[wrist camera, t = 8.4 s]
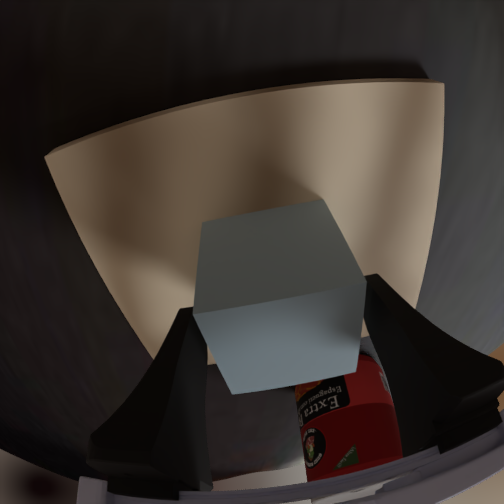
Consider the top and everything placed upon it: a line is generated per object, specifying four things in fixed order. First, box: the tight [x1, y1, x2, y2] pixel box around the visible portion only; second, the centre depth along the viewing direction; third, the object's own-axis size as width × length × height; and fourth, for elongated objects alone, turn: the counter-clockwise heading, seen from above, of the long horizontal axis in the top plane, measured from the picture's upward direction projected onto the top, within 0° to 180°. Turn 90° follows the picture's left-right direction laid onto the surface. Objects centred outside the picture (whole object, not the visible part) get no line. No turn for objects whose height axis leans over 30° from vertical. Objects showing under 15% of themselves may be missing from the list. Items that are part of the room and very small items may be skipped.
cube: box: [193, 199, 367, 394], centre depth 13 cm, size 6×6×6 cm
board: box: [45, 78, 444, 365], centre depth 16 cm, size 18×16×1 cm
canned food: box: [295, 354, 412, 504], centre depth 21 cm, size 8×8×11 cm
